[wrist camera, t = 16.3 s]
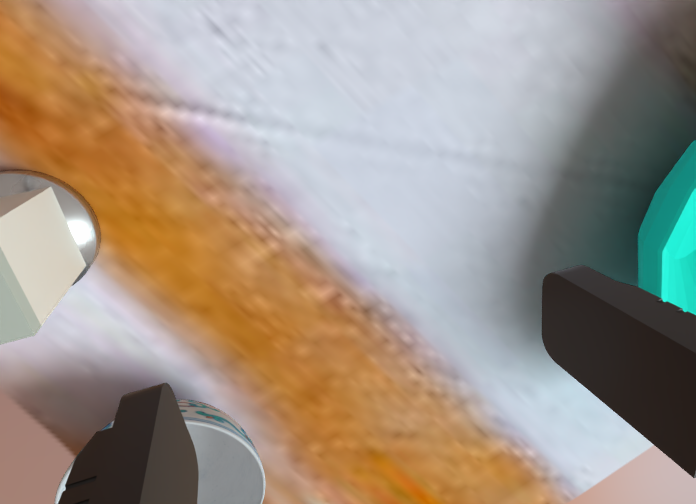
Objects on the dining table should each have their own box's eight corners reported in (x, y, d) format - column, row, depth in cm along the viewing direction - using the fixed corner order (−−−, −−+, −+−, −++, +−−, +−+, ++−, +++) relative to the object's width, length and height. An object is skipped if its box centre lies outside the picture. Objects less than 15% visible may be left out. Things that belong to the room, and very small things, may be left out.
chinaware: (288, 398, 43) (301, 459, 36) (205, 510, 45) (202, 588, 38) (139, 333, 37) (120, 392, 30) (50, 466, 39) (14, 549, 32)
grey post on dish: (-72, 185, 30) (-158, 215, 23) (72, 157, 31) (31, 178, 25) (-8, 302, 33) (-67, 358, 26) (118, 271, 35) (93, 317, 28)
